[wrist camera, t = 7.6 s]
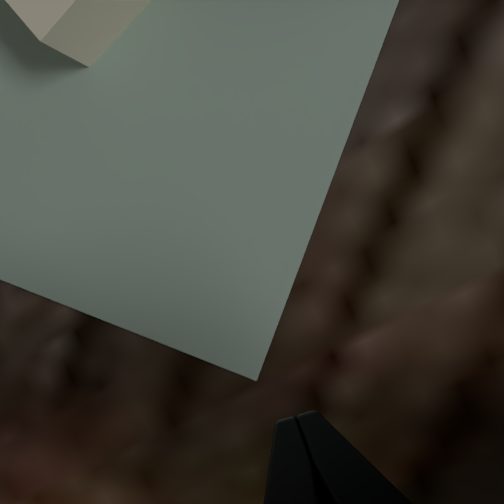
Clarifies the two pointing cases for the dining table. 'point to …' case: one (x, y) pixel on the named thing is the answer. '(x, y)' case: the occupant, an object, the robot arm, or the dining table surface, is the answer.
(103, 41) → the card box
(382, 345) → the dining table surface
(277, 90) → the rubber mat
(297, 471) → the robot arm
